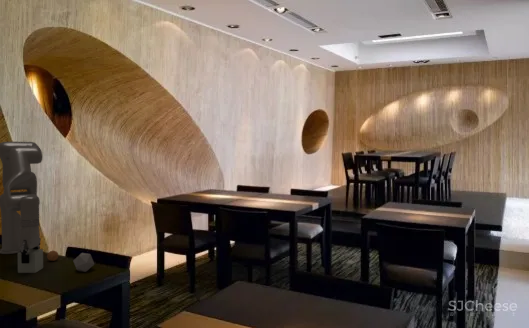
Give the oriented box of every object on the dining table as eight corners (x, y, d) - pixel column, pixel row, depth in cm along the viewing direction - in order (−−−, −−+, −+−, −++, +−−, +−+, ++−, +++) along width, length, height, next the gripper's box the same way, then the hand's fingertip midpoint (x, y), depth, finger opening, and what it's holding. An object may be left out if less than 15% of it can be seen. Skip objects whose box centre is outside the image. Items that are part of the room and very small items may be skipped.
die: (98, 270, 205) (94, 252, 209) (90, 266, 197) (86, 247, 201) (81, 277, 204) (77, 258, 208) (72, 273, 196) (69, 253, 200)
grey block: (26, 267, 206) (26, 249, 205) (43, 267, 206) (42, 249, 205) (17, 272, 198) (17, 253, 197) (35, 272, 198) (35, 253, 198)
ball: (50, 259, 220) (49, 249, 220) (60, 259, 220) (60, 249, 220) (45, 262, 215) (45, 252, 215) (55, 262, 215) (55, 252, 215)
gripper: (31, 220, 209) (31, 255, 210) (11, 226, 192) (12, 265, 192) (47, 220, 209) (47, 255, 210) (29, 226, 192) (29, 265, 193)
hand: (30, 260), depth 201 cm, fingers open, 9 cm apart
